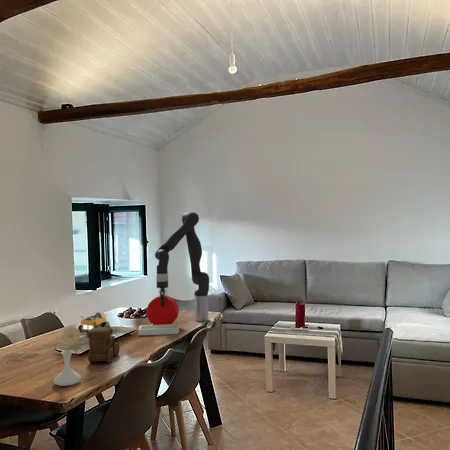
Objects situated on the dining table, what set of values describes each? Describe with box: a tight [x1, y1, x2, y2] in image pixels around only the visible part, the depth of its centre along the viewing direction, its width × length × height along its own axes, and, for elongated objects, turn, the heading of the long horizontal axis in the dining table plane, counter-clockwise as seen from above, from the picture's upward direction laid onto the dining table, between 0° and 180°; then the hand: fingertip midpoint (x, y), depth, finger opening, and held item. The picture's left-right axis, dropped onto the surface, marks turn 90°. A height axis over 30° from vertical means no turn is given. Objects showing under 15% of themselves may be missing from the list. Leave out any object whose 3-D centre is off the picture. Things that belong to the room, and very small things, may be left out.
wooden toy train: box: [86, 325, 121, 364], centre depth 223 cm, size 20×11×17 cm, turn 176°
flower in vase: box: [53, 326, 82, 387], centre depth 191 cm, size 13×11×25 cm
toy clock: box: [146, 295, 180, 325], centre depth 287 cm, size 20×6×20 cm, turn 84°
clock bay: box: [138, 323, 180, 336], centre depth 273 cm, size 10×24×4 cm, turn 96°
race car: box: [78, 311, 110, 332], centre depth 282 cm, size 15×15×11 cm
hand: (162, 305), depth 287 cm, fingers closed on toy clock, 6 cm apart
